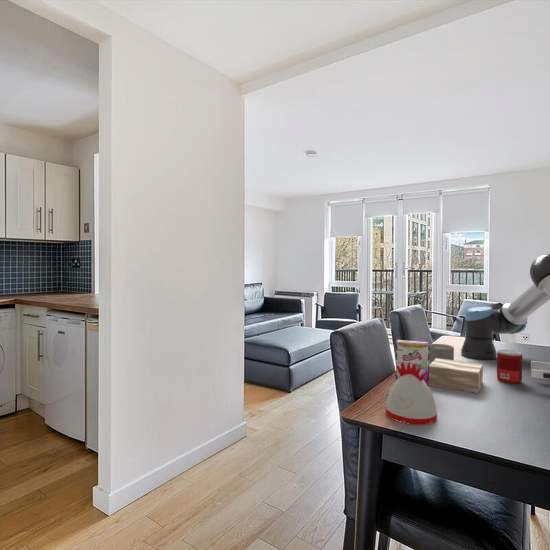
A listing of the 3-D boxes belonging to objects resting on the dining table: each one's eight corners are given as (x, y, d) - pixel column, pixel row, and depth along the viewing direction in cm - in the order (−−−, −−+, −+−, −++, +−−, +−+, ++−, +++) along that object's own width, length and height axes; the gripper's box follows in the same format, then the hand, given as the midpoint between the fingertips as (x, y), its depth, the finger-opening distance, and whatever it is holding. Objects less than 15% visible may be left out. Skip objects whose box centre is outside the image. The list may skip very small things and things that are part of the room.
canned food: (525, 384, 135) (526, 354, 135) (501, 383, 137) (501, 353, 136) (516, 378, 143) (517, 350, 142) (493, 377, 144) (494, 349, 144)
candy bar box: (395, 388, 131) (395, 341, 131) (395, 384, 136) (395, 339, 135) (429, 391, 127) (429, 344, 127) (428, 387, 132) (429, 341, 132)
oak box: (436, 375, 146) (436, 358, 146) (482, 382, 137) (482, 364, 137) (428, 385, 135) (428, 365, 135) (478, 393, 126) (478, 372, 126)
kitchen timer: (399, 402, 117) (399, 355, 117) (444, 414, 108) (444, 363, 108) (377, 415, 107) (377, 363, 107) (424, 429, 98) (425, 372, 98)
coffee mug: (454, 368, 156) (454, 345, 156) (453, 374, 148) (453, 349, 147) (420, 364, 163) (420, 342, 163) (417, 370, 154) (417, 346, 154)
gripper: (615, 400, 113) (531, 387, 125) (602, 380, 134) (530, 370, 146) (616, 376, 113) (531, 365, 125) (602, 359, 134) (530, 351, 146)
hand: (530, 368), depth 135 cm, fingers open, 13 cm apart
